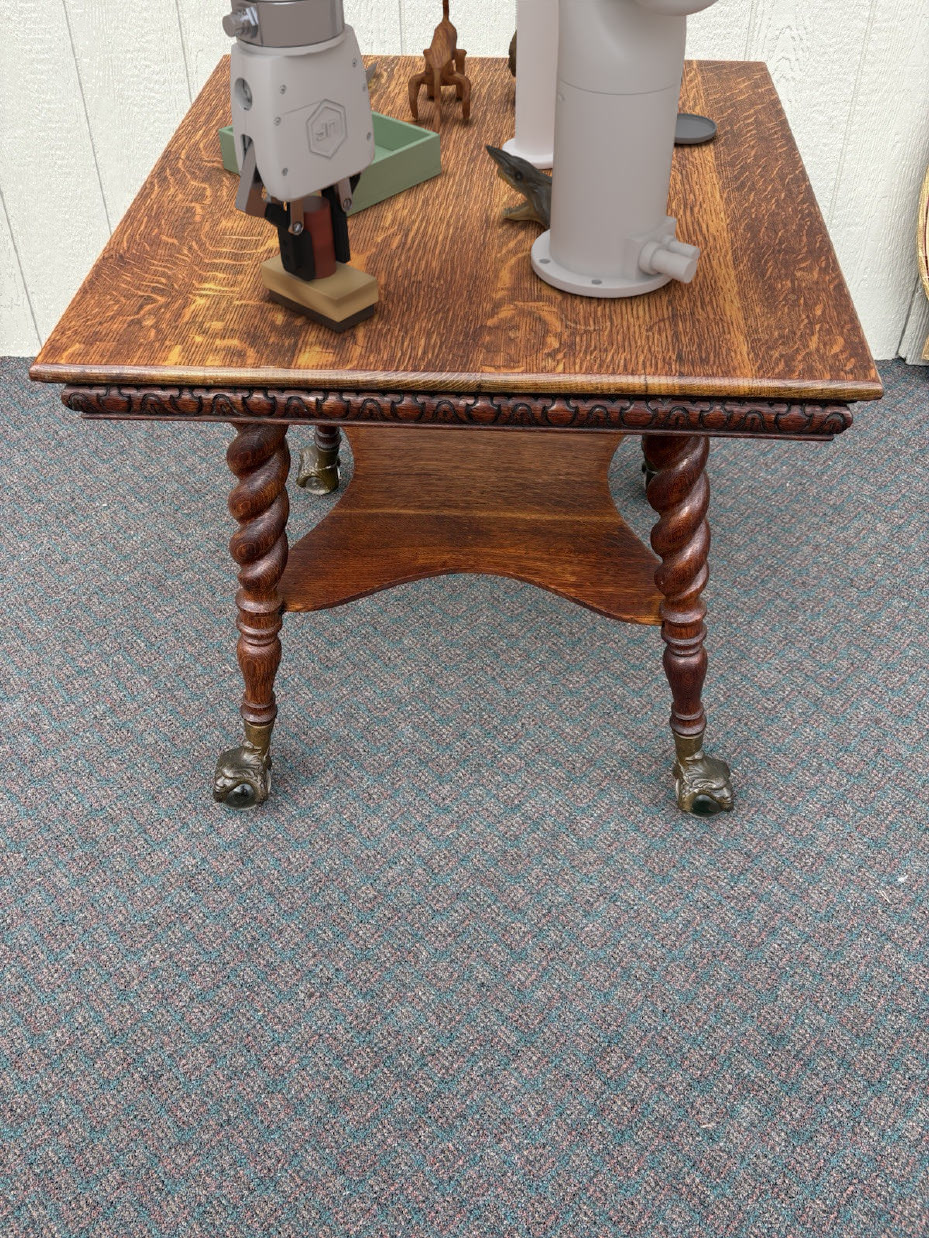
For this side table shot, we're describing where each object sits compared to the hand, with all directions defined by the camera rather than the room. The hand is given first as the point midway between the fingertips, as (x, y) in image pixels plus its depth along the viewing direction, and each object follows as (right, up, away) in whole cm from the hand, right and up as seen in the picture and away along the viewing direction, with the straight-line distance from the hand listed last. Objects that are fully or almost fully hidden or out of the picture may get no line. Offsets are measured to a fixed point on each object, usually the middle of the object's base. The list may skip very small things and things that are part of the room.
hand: (317, 264), depth 90 cm
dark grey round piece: (+34, +22, +28) cm, 49 cm away
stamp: (0, -3, +3) cm, 4 cm away
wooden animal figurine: (+9, +25, +31) cm, 41 cm away
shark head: (+18, +8, +13) cm, 24 cm away
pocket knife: (0, +31, +37) cm, 48 cm away
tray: (-1, +16, +22) cm, 27 cm away
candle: (+19, +18, +24) cm, 36 cm away
